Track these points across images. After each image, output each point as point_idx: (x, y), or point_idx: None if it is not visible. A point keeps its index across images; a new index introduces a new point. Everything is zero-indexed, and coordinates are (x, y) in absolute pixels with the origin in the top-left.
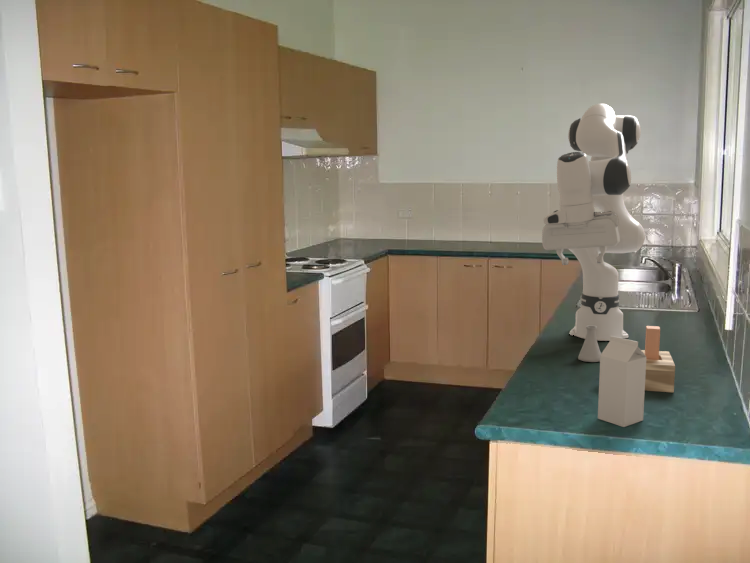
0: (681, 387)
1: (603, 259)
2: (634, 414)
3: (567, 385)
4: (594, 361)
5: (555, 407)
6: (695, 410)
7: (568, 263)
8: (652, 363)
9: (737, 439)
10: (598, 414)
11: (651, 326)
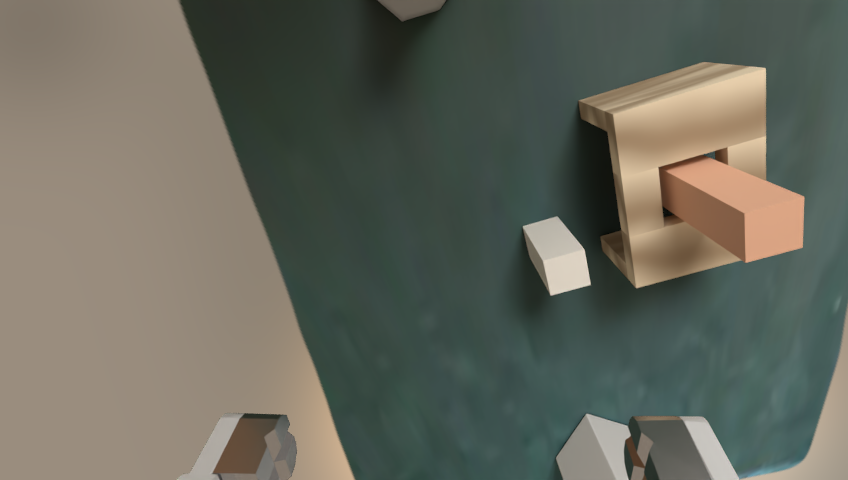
0: None
1: (714, 436)
2: None
3: (436, 298)
4: (440, 7)
5: (461, 439)
6: (751, 324)
7: (284, 417)
8: (695, 263)
9: (805, 431)
10: (559, 465)
11: (768, 214)
